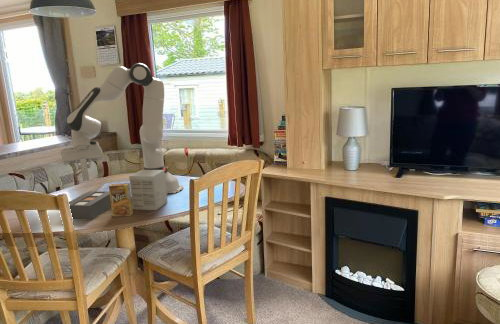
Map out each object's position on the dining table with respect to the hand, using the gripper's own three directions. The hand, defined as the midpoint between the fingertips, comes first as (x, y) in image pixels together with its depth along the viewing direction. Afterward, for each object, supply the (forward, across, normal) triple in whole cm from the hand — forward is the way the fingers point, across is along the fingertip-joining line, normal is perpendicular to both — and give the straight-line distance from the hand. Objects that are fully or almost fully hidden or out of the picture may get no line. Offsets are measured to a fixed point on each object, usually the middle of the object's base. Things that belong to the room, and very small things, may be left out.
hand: (84, 168), depth 202 cm
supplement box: (+29, +29, -1) cm, 41 cm away
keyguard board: (+24, +1, +3) cm, 25 cm away
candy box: (+34, +14, -7) cm, 38 cm away
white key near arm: (+18, +4, +4) cm, 19 cm away
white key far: (+26, -3, -4) cm, 27 cm away
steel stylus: (+4, 0, +5) cm, 7 cm away
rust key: (+22, +1, 0) cm, 22 cm away
